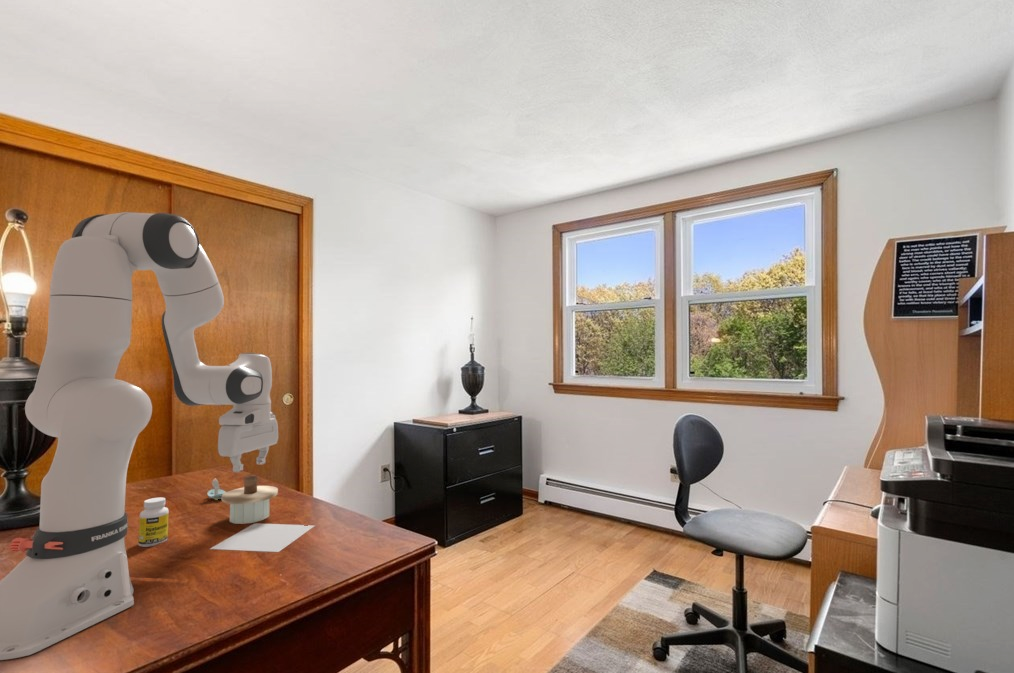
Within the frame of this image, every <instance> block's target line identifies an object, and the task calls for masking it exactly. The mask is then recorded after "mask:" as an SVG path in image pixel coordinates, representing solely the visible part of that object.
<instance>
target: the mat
mask: <svg viewBox="0 0 1014 673" xmlns="http://www.w3.org/2000/svg"><path fill="white" fill-rule="evenodd" d="M304 525H305V524H284V523H283V524H282V523H262V522H261V523H257V522H254V523H253V524H251V525H249V526H247V527H245V528H244V529H242V530H240V531H238V532H236V533H235V534H233V535H231V536H230V537H228V538H225V539H224V540H223V541H221V542H219V543H217V544H216V545H213V546H212V547H211V548H209V550H215V551H216V550H219V551H241V552H242V551H245V552H263V553H264V552H265V553H279V552H281V551H282V550H284V549H285V548H286V547H288V546H289V545H291V544H292V543H294V542H296V540H298V539H299V538H300V537H302V536H303V535H305V534H306V533H307V532H309V531H311V529H313V528H314V527H315V525H308V526H304Z"/></svg>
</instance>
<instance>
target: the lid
mask: <svg viewBox="0 0 1014 673" xmlns="http://www.w3.org/2000/svg"><path fill="white" fill-rule="evenodd" d="M243 484H244V485H243V487H239V488H234V489H230V490H228V491H226V493H224V494H223V495H222V499H221V502H223V503H224V504H229V505H230V504H246V503H254V502H260V501H264V500H267V499H273V498H275V497H276V496H277V495H278V494H279V488H278V487H276V486H273V485H272V486H271V485H258V475H248V476H244V482H243Z"/></svg>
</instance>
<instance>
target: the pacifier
mask: <svg viewBox="0 0 1014 673" xmlns="http://www.w3.org/2000/svg"><path fill="white" fill-rule="evenodd" d="M219 484H220V483H219V481H218V479H217V478H216V477H215V478H214V479H213V480H212V481H211V485H212V487H213V488H212V489H210V490H208V491H207V496H208V497H209V498H210V499H212V500H213V499H215V500H214V501H219V500H218V499H221V500H222V495H223V494H224V493H226V492H227V491H225V489H224V490H223V489H221V488H220V485H219Z"/></svg>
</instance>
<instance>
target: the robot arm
mask: <svg viewBox="0 0 1014 673" xmlns="http://www.w3.org/2000/svg"><path fill="white" fill-rule="evenodd" d="M135 271H152V272H153V273H154V275H155V276H156V280H157V283H158V286H159V289H160V292H161V293H162V294H161V295H162V297H163V300H164V305H165V311H164V312H163V314H162V316H161V330H162V335H163V338H164V342H165V346H166V351H167V353H168V357H169V361H170V362H169V363H170V365H171V369H172V375H173V390H174V393H175V395H176V397H177V399H178V400H179V401H180V402H181V403H182V404H184V405H186V406H190V407H194V406H196V407H197V406H205V405H206V406H207V405H208V406H225V405H226V406H227V405H228V406H230V405H231V406H232V408H230V409H229V410H228V411H226V412H225V413H224V414H222V415H220V416H219V417H218V425H220V426H221V427H220V428H219V430H218V440H217V452H218V454H219V456H220V457H229V460H230V462H231V464H232V472H233V473H240V472H242V471H244V464H243V463H242V462H241V459H242V455H244V454H245V453H250V452H253V451H256V450H258V451H259V452H258V456H257V457H256V458H255V460H256V462H255V463H256V465H264V464H266V458H267V456H268V453H269V450H270V447H271V446H274V445H276V444H278V441H279V426H278V425H279V423H278V420H277V419H276V415H275V413H274V412H273V411H272V399H271V390H272V388H273V370H272V364H271V359H270V357H268V356H267V355H265V354H263V353H262V354H261V353H257V352H256V353H255V352H241V353H239V355H238V357H237V359H236V360H234V361H233V362H232V363H229V364H227V365H207V364H205V363H204V362H202V361H201V360H200V358H199V352H198V348H197V345H196V340H195V330H196V329H198V328H201V327H202V326H204V325H206V324H208V323H210V322H211V321H213V320H214V319H216V318H217V316H219V315H220V313H221V312H222V310H223V308H224V305H225V297H224V293H223V289H222V286H221V284H220V281H219V277H218V276H217V273H216V271H215V269H214V266H213V264H212V262H211V261H210V258H209V257H208V255H207V253H206V251H205V250H204V247H203V246H202V244H200V239H199V236H198V234H197V231H196V229H195V228H194V227H193V225H192V224H191V223H190V222H189V221H188V220H186V218H184V217H182V216H180V215H177V214H173V213H167V212H157V213H149V212H134V211H128V212H119V213H118V212H116V213H110V214H96V215H92V216H88V217H86V218H84V219H82V220H81V221H79V222H78V223H77V224H76V226H75V227H74V229H73V231H72V233H71V237H70V238H69V239H66V240H65V241H63V243H62V244H61V245H60V246H59V248H58V251H57V254H56V257H55V260H54V264H53V268H52V272H51V280H50V287H49V301H48V302H49V304H48V320H47V321H48V322H47V337H46V338H47V339H46V343H45V344H46V345H45V350H44V354H43V357H42V360H41V363H40V367H39V370H38V373H37V377H36V382H35V385H34V388H33V390H32V392H31V393H30V394H29V396H28V398H27V399H26V401H25V406H24V411H25V416H26V418H27V420H28V422H30V424H31V425H32V426H34V427H35V429H37V430H38V431H40V432H41V433H43V435H44V434H45V435H47V436H49V437H53V438H57V445H56V450H55V454H54V456H53V460H52V462H51V465H50V467H49V469H48V472H47V473H46V474H45V476H43V479H42V481H41V483H40V507H39V509H40V510H39V526H38V527H37V528H36V530H35V531H34V534H33V536H32V538H30V537H26V538H24V537H15V538H13V539H12V540H11V541H10V542H9V544H8V545H9V546H8V548H9V551H11V552H20V553H21V552H22V553H23V552H24V553H25V555H26V556H25V557H24V558H23V560H21V561H20V562H19V563H18V564H17V565H16V566H15V567H14V568H13V569H12V570H10V572H8V573H7V574H6V576H5V577H3V578H2V579H1V580H0V661H4V660H13V659H17V658H22V657H27V656H31V655H33V654H35V653H38V652H40V651H42V650H44V649H46V648H48V647H49V646H53V645H54V644H56V643H59V642H60V641H62V640H65V639H66V638H70V637H71V636H73V635H75V634H78V633H79V632H81V631H83V630H85V629H87V628H89V627H92V626H94V625H96V624H98V623H99V622H102V621H104V620H106V619H109V618H111V617H112V616H114V615H116V614H118V613H120V612H123V611H124V610H126V609H128V608H131V607H133V606H134V604H135V601H134V600H135V599H134V596H133V595H134V590H135V589H134V587H133V584H132V582H131V578H130V571H129V563H128V555H127V549H126V544H125V539H126V538H125V537H126V536H127V534H128V526H129V522H128V514H127V512H125V510H126V509H125V508H126V490H127V488H126V487H127V486H126V485H127V473H128V468H129V463H130V460H131V456H132V453H133V450H134V447H135V445H136V441H137V439H138V436H139V435H140V433H141V432H143V430H144V429H145V428H146V427H147V426H148V424H149V422H150V421H151V418H152V415H153V414H152V413H153V404H152V400H151V398H150V396H149V395H148V394H147V393H146V392H145V391H144V390H143V389H142V388H141V387H138V386H136V385H135V384H132V383H130V382H127V381H126V380H122V379H118V378H116V374H117V371H118V368H119V365H120V362H121V360H122V357H123V355H124V353H125V352H126V351H127V349H128V348H129V346H130V344H131V341H132V320H133V319H132V318H133V317H132V316H133V280H132V277H133V274H134V273H135Z"/></svg>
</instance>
